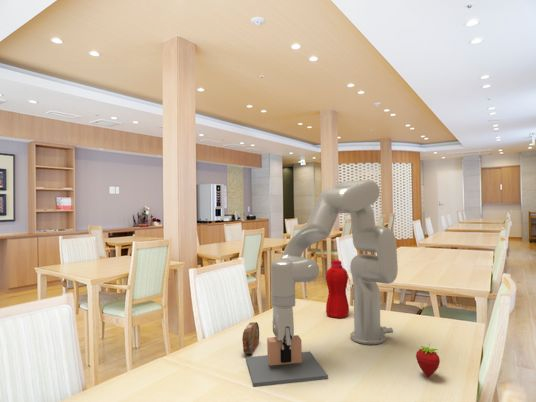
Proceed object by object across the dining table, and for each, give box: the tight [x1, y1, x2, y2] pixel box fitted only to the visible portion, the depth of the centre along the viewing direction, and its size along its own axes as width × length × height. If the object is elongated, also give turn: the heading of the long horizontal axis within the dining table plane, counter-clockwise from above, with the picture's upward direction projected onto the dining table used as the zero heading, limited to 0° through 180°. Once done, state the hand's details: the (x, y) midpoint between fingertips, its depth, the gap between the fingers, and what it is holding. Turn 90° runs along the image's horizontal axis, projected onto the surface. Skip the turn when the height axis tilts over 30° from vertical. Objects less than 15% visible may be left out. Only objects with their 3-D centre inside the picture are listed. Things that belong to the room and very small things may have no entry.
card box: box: [266, 334, 303, 365], centre depth 117 cm, size 4×10×7 cm, turn 100°
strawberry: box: [415, 343, 441, 378], centre depth 110 cm, size 6×8×10 cm
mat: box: [245, 350, 329, 387], centre depth 117 cm, size 22×18×1 cm
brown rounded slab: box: [241, 321, 260, 355], centre depth 133 cm, size 15×3×8 cm, turn 168°
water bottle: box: [325, 259, 352, 319], centre depth 169 cm, size 9×11×25 cm
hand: (284, 358), depth 117 cm, fingers closed on card box, 3 cm apart
